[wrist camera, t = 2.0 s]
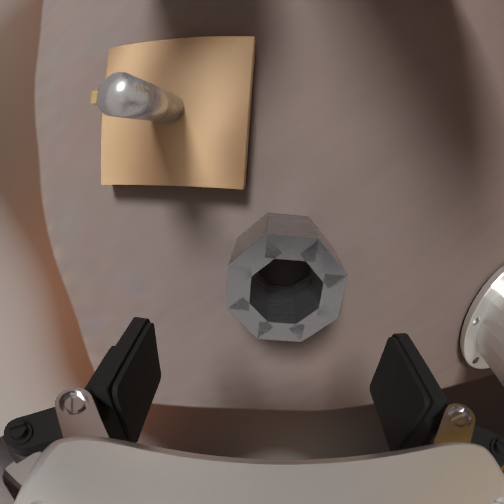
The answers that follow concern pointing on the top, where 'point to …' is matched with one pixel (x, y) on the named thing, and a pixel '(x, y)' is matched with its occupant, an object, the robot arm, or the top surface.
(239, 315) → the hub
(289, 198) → the top surface
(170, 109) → the shaft
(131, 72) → the shaft block
